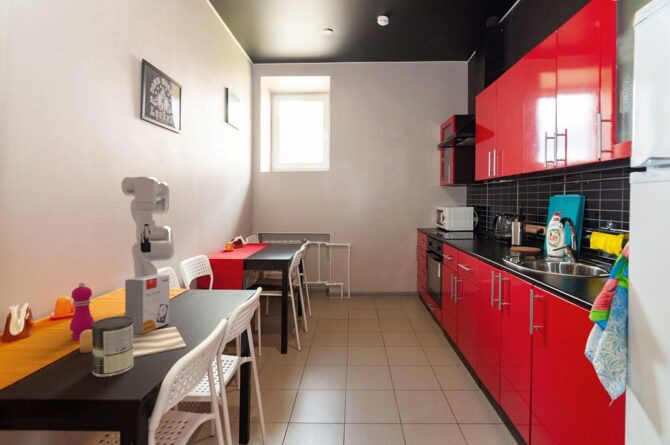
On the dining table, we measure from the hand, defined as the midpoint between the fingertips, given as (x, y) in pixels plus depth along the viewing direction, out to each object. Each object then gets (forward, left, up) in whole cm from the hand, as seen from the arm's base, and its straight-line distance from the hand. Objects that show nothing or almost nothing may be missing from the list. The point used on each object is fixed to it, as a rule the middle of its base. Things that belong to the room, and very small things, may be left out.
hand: (145, 251), depth 143 cm
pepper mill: (+7, -21, -30) cm, 37 cm away
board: (+25, 0, -29) cm, 39 cm away
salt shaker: (+22, -19, -29) cm, 41 cm away
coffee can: (+42, -12, -30) cm, 53 cm away
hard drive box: (+10, 0, -29) cm, 31 cm away
